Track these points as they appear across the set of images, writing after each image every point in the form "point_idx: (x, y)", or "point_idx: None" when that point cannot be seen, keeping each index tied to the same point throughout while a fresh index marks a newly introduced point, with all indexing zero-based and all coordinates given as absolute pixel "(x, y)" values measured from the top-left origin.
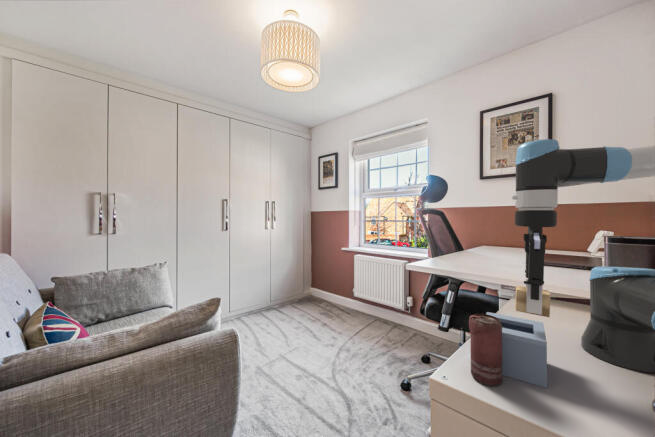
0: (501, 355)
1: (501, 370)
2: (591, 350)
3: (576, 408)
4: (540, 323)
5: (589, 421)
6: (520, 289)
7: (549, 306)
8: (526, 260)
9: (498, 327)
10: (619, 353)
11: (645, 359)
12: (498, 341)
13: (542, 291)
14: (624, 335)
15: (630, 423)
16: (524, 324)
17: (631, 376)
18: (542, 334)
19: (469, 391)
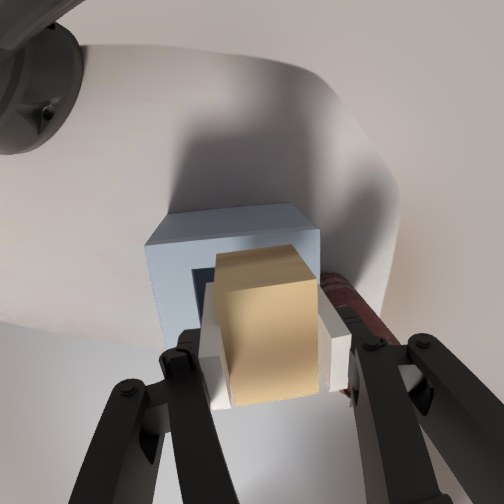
0: (353, 298)
1: (342, 283)
2: (52, 131)
3: (326, 159)
4: (161, 251)
5: (351, 145)
6: (299, 385)
7: (301, 259)
8: (152, 496)
9: (394, 339)
10: (65, 80)
11: (66, 42)
12: (378, 320)
13: (263, 314)
14: (33, 65)
15: (314, 90)
16: (195, 289)
17: (113, 66)
18: (264, 241)
19: (377, 305)
